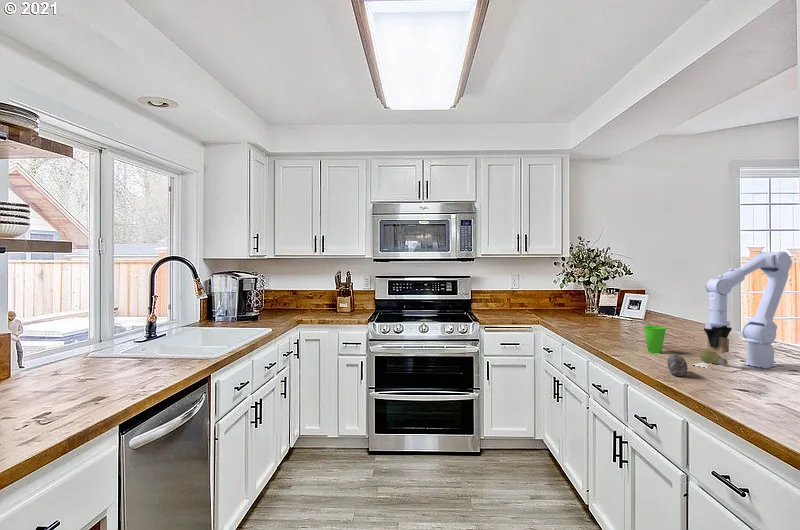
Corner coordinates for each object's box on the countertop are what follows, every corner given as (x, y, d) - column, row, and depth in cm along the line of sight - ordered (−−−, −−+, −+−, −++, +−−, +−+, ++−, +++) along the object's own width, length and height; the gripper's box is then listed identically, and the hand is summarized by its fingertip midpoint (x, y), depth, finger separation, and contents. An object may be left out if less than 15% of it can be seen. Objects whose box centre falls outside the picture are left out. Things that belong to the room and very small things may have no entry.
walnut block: (714, 349, 186) (714, 336, 186) (728, 352, 181) (729, 338, 181) (707, 351, 183) (707, 337, 183) (721, 353, 179) (722, 339, 179)
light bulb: (732, 362, 185) (705, 351, 194) (729, 353, 182) (702, 343, 191) (724, 372, 184) (697, 362, 192) (721, 364, 181) (694, 353, 190)
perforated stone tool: (664, 368, 181) (664, 350, 181) (680, 369, 179) (680, 351, 179) (671, 377, 167) (671, 357, 167) (688, 379, 165) (688, 358, 165)
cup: (644, 353, 209) (644, 328, 209) (642, 349, 217) (642, 325, 217) (667, 355, 206) (668, 329, 205) (665, 351, 214) (665, 326, 214)
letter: (704, 362, 191) (704, 361, 191) (744, 369, 179) (744, 368, 179) (691, 365, 186) (691, 364, 186) (731, 372, 174) (731, 372, 174)
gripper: (716, 308, 190) (715, 343, 190) (696, 310, 182) (696, 346, 182) (736, 310, 184) (736, 346, 184) (717, 312, 176) (716, 349, 176)
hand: (717, 346), depth 182 cm, fingers closed on walnut block, 5 cm apart
